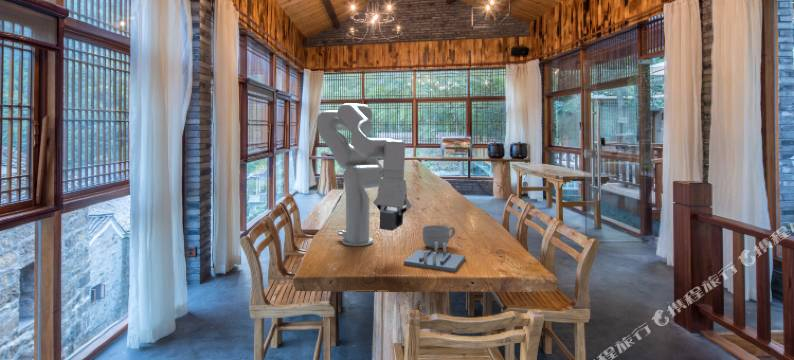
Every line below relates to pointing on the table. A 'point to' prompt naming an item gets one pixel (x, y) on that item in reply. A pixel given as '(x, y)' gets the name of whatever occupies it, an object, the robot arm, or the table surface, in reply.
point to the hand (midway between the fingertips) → (391, 223)
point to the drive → (389, 219)
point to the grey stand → (435, 259)
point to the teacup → (436, 235)
